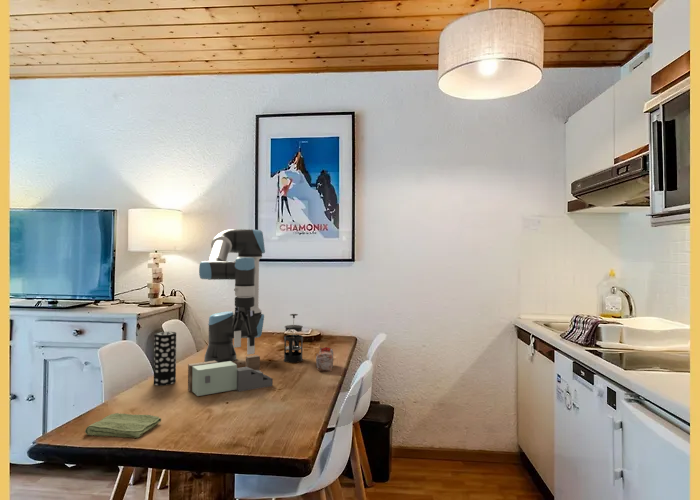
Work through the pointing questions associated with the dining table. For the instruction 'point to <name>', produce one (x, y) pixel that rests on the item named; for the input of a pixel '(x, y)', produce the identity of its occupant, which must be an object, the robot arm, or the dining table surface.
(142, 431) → the washcloth
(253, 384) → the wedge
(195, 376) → the pale green box
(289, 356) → the french press
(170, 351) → the spotted tube
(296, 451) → the dining table surface
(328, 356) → the food item
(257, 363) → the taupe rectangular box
